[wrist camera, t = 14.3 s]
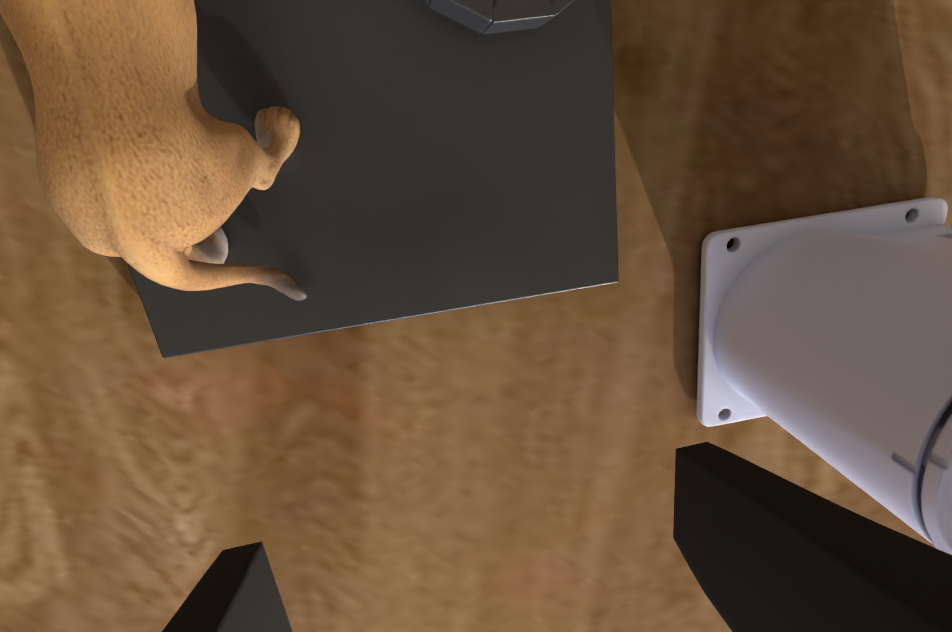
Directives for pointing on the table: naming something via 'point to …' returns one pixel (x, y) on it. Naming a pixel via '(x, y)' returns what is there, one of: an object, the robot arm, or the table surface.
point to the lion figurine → (143, 139)
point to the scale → (406, 161)
